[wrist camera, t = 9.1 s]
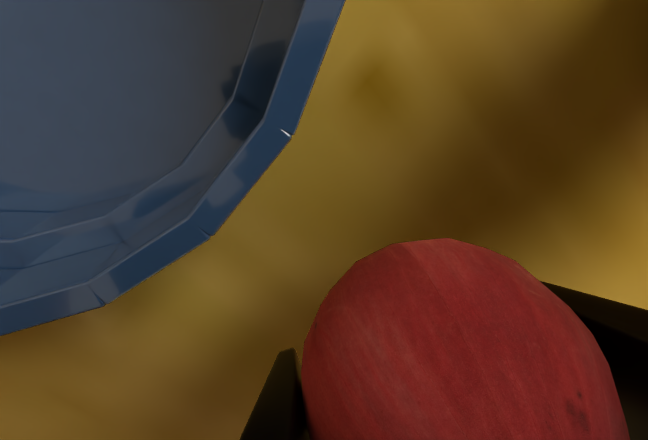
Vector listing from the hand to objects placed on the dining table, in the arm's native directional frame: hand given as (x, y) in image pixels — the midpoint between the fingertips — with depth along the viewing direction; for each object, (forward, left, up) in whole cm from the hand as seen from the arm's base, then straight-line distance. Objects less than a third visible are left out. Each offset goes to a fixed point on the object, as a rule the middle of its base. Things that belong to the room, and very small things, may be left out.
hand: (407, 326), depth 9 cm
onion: (0, 0, -2) cm, 2 cm away
